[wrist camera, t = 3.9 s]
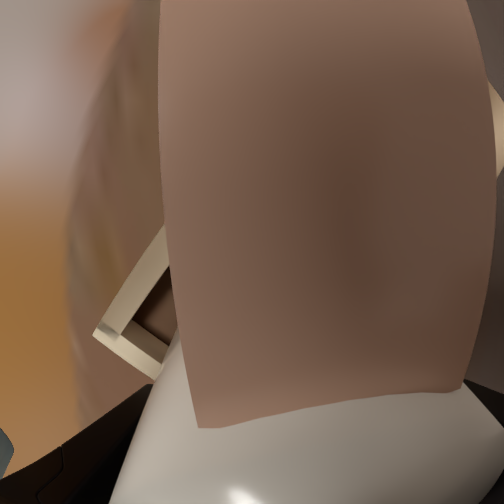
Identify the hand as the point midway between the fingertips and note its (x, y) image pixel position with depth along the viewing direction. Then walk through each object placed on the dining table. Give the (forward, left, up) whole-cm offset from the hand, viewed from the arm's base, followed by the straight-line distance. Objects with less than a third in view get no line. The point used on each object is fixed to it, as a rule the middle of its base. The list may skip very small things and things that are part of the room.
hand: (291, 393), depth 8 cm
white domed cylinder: (+1, -2, -2) cm, 3 cm away
